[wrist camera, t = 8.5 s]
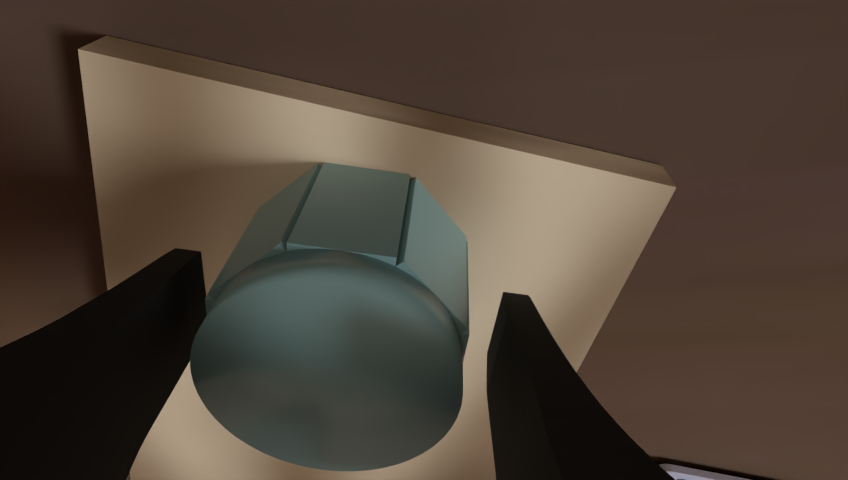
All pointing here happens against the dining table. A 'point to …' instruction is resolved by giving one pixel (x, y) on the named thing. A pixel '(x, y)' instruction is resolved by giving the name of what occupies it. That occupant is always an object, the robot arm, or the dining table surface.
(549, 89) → the dining table surface
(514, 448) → the robot arm
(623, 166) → the stud plate
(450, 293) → the cap
